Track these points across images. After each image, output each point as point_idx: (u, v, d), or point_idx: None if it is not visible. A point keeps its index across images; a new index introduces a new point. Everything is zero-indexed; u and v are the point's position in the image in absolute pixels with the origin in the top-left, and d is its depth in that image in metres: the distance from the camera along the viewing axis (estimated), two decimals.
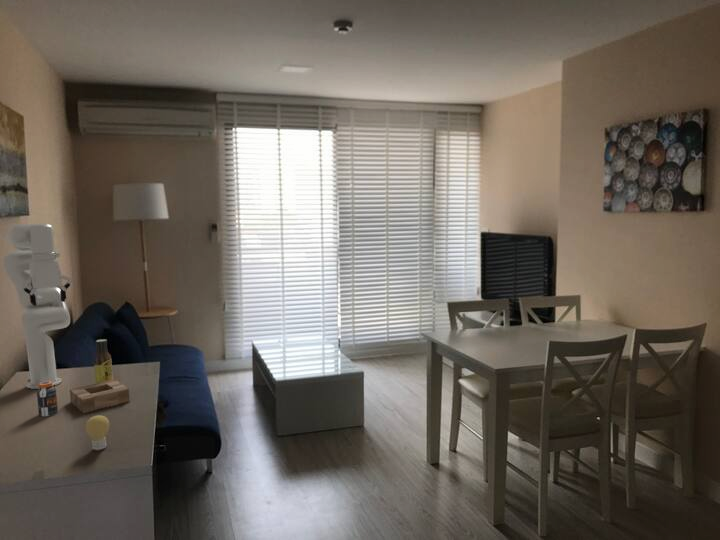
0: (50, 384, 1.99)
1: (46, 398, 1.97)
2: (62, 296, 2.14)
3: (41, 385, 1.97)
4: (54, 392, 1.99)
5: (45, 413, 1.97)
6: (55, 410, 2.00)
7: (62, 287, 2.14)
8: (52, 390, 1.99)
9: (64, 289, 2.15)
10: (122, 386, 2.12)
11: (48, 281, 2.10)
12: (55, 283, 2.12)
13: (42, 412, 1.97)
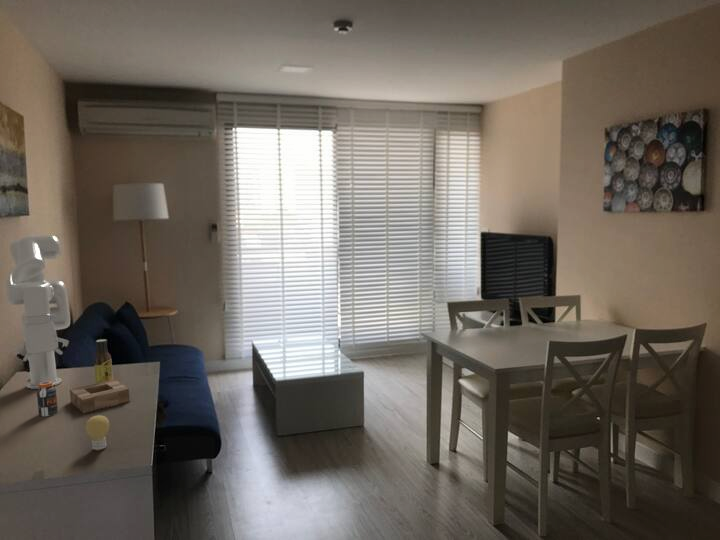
0: (50, 384, 1.99)
1: (46, 398, 1.97)
2: (58, 360, 2.00)
3: (41, 385, 1.97)
4: (54, 392, 1.99)
5: (45, 413, 1.97)
6: (55, 410, 2.00)
7: (58, 350, 2.00)
8: (52, 390, 1.99)
9: (60, 352, 2.00)
10: (122, 386, 2.12)
11: (43, 346, 1.95)
12: (51, 346, 1.97)
13: (42, 412, 1.97)
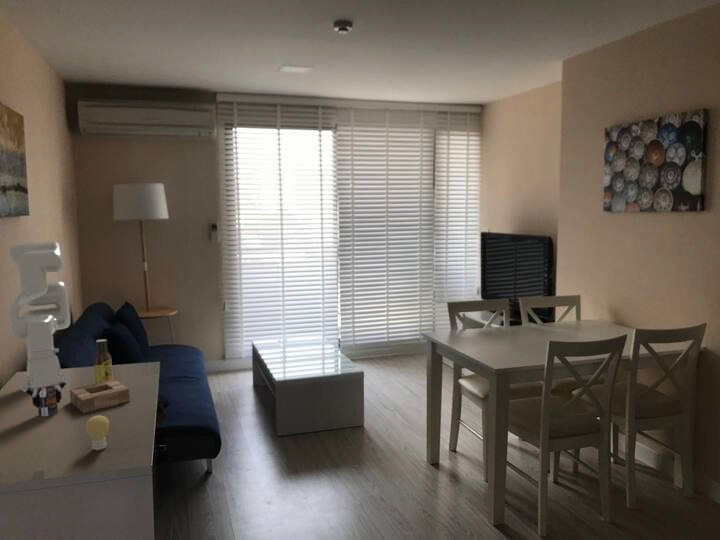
0: None
1: (46, 398, 1.97)
2: (57, 397, 2.00)
3: None
4: (54, 392, 1.99)
5: (45, 413, 1.97)
6: (55, 409, 2.00)
7: (57, 387, 2.00)
8: (52, 390, 1.99)
9: (59, 389, 2.01)
10: (122, 386, 2.12)
11: (46, 380, 1.97)
12: (54, 380, 1.99)
13: (42, 412, 1.97)
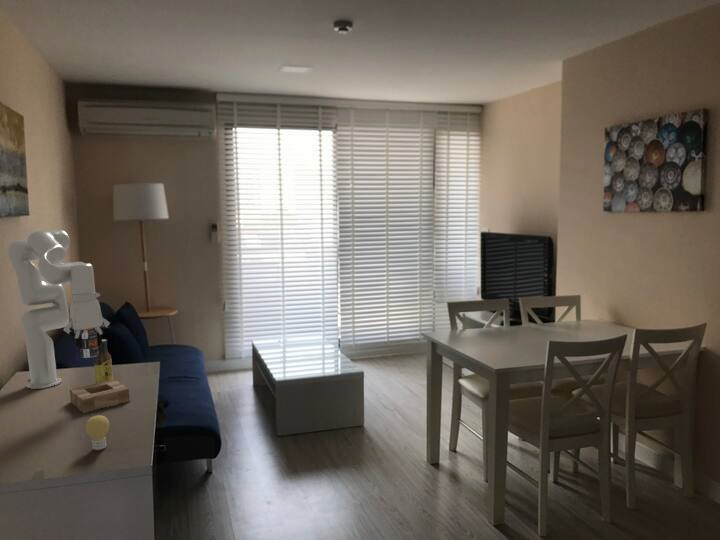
0: None
1: (88, 340, 2.04)
2: (98, 340, 2.07)
3: None
4: (95, 335, 2.06)
5: (86, 354, 2.04)
6: (96, 352, 2.07)
7: (98, 330, 2.07)
8: (93, 333, 2.05)
9: (100, 332, 2.08)
10: (122, 386, 2.12)
11: (88, 322, 2.04)
12: (96, 323, 2.06)
13: (84, 353, 2.04)
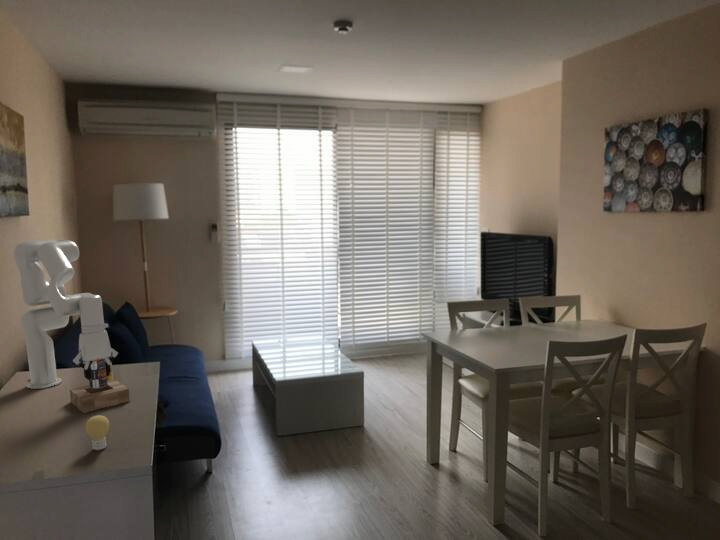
0: None
1: (97, 371, 2.06)
2: (107, 370, 2.10)
3: None
4: (104, 365, 2.09)
5: (96, 385, 2.07)
6: (105, 382, 2.09)
7: (107, 361, 2.10)
8: (102, 363, 2.08)
9: (109, 363, 2.11)
10: (122, 386, 2.12)
11: (97, 353, 2.07)
12: (104, 354, 2.08)
13: (93, 384, 2.07)
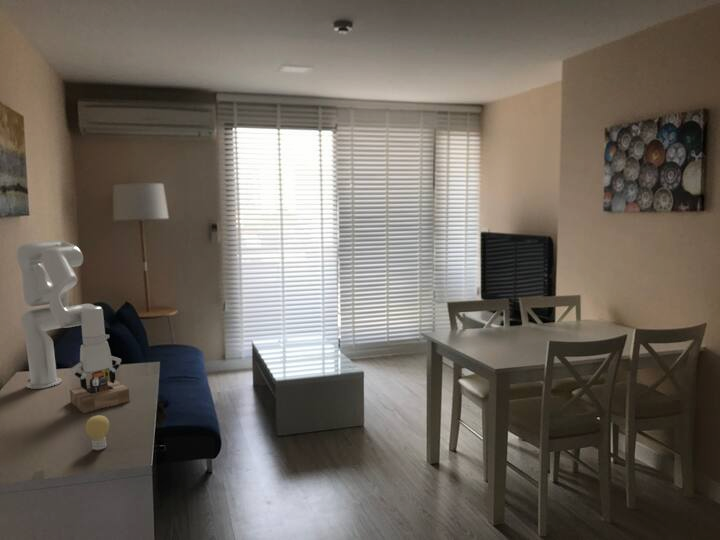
0: (102, 373, 2.09)
1: (99, 387, 2.07)
2: (112, 378, 2.11)
3: (94, 374, 2.08)
4: (106, 381, 2.10)
5: None
6: None
7: (112, 368, 2.11)
8: (104, 379, 2.09)
9: (114, 370, 2.12)
10: (122, 386, 2.12)
11: (98, 364, 2.07)
12: (105, 365, 2.09)
13: None
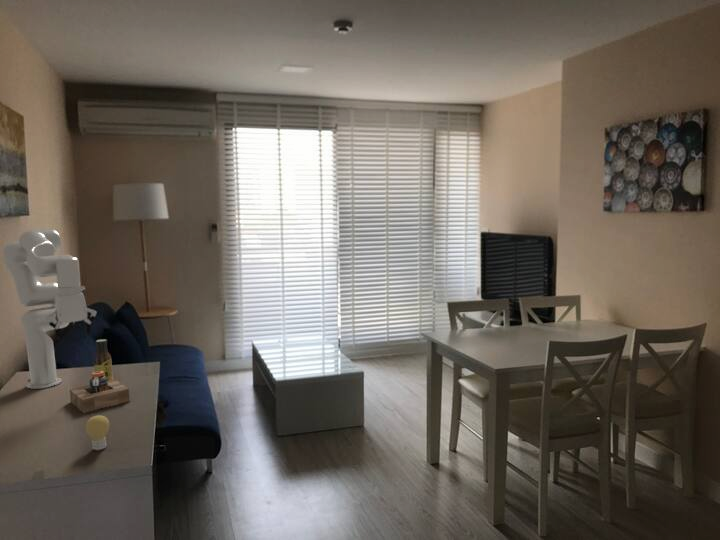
0: (102, 373, 2.09)
1: (99, 387, 2.07)
2: (87, 329, 2.11)
3: (94, 374, 2.08)
4: (106, 381, 2.10)
5: None
6: None
7: (87, 320, 2.11)
8: (104, 379, 2.09)
9: (89, 322, 2.12)
10: (122, 386, 2.12)
11: (73, 315, 2.07)
12: (80, 316, 2.09)
13: None
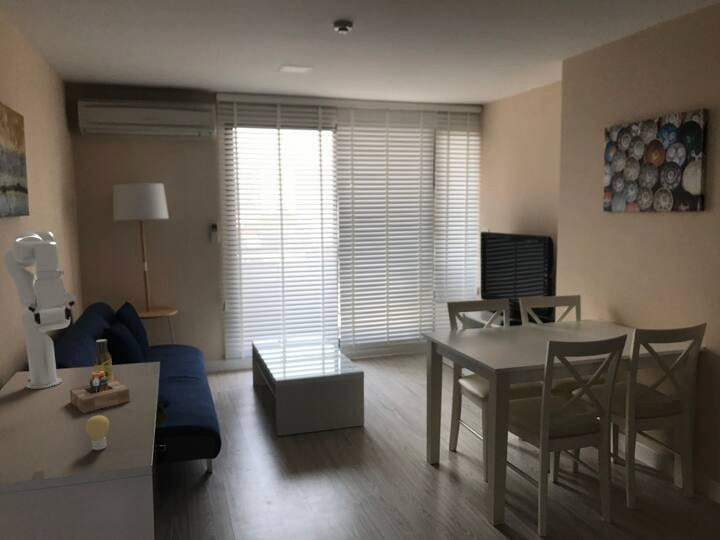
0: (102, 373, 2.09)
1: (99, 387, 2.07)
2: (67, 314, 2.12)
3: (94, 374, 2.08)
4: (106, 381, 2.10)
5: None
6: None
7: (67, 305, 2.12)
8: (104, 379, 2.09)
9: (69, 307, 2.12)
10: (122, 386, 2.12)
11: (52, 299, 2.08)
12: (60, 301, 2.09)
13: None
